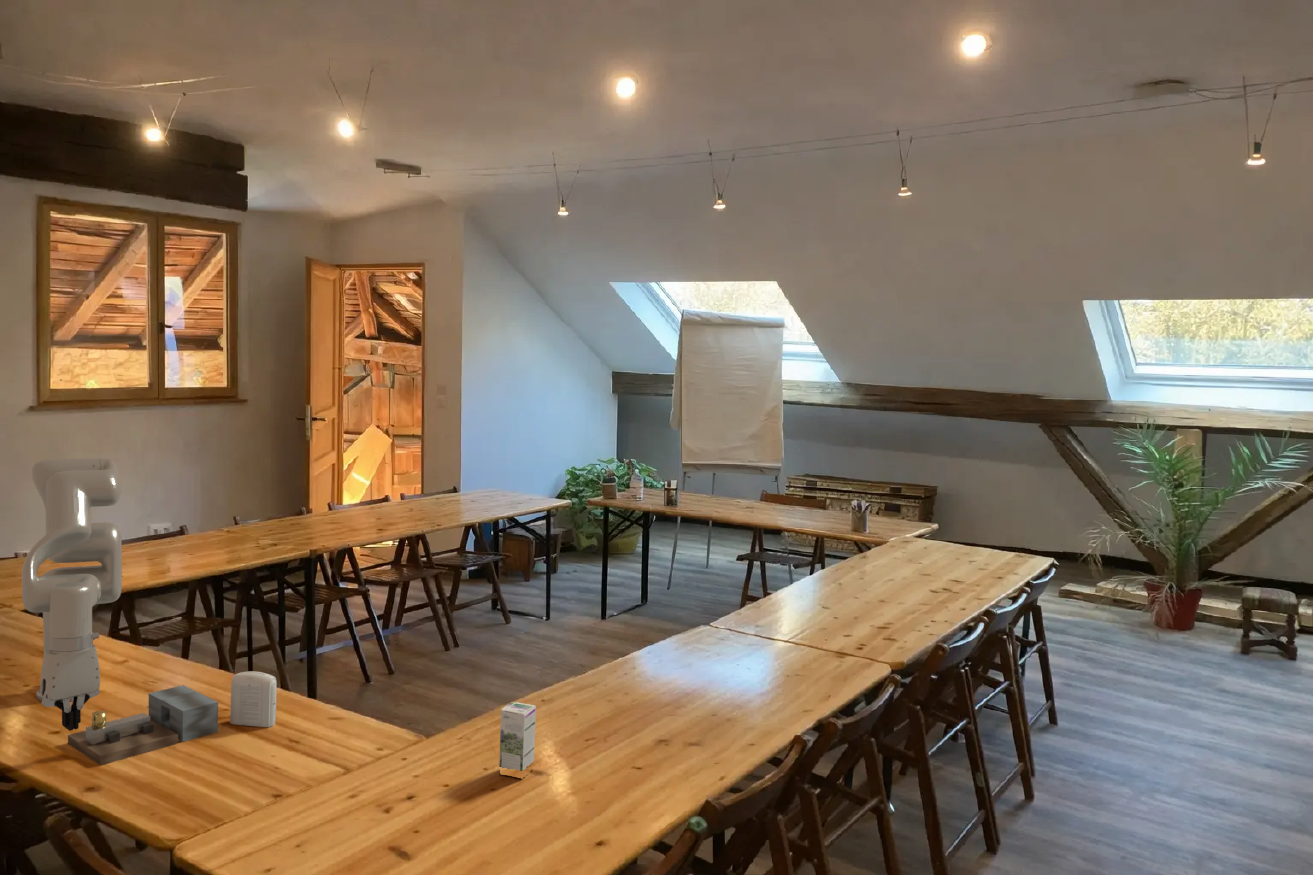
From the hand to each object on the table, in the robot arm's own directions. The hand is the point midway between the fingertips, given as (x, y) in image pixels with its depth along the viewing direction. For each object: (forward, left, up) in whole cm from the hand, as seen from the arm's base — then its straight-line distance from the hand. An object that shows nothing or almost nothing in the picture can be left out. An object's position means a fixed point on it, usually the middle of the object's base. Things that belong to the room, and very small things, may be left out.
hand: (71, 727), depth 202 cm
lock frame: (0, +15, -6) cm, 17 cm away
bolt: (0, +9, -4) cm, 10 cm away
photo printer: (+9, +35, -7) cm, 37 cm away
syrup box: (+72, +59, -7) cm, 93 cm away
